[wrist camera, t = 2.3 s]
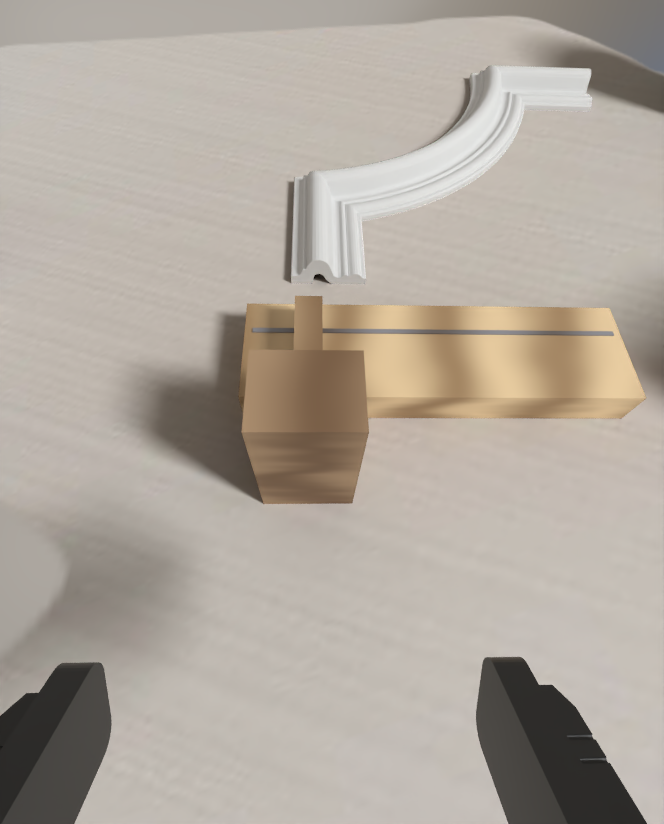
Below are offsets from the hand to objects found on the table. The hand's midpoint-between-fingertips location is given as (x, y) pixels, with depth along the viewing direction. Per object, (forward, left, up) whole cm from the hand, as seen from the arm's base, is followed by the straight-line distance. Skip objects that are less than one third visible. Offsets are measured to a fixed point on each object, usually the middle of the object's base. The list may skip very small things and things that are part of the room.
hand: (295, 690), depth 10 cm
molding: (+14, +40, -14) cm, 45 cm away
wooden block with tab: (0, +14, -14) cm, 20 cm away
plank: (+8, +17, -14) cm, 24 cm away
